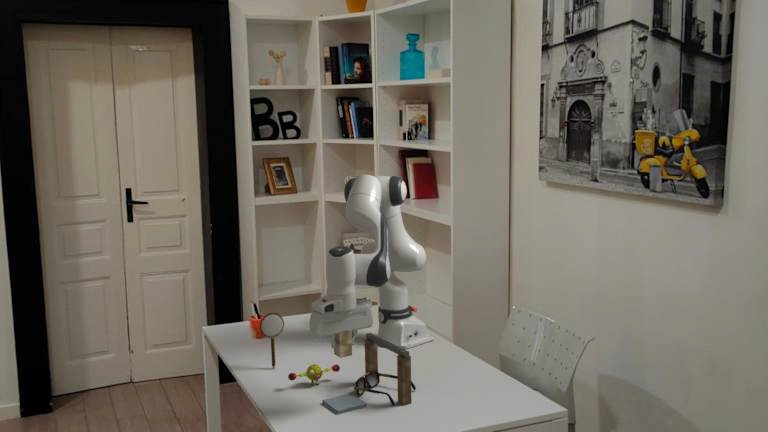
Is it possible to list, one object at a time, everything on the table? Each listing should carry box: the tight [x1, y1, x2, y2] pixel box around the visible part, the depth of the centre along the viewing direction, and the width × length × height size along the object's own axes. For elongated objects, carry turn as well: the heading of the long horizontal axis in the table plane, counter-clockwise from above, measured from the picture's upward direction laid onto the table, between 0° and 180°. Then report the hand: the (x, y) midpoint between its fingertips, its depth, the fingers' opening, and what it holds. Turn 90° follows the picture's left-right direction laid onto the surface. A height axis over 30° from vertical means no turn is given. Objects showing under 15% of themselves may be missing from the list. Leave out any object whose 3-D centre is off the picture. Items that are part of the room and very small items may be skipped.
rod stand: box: [364, 338, 412, 406], centre depth 238 cm, size 3×22×15 cm, turn 32°
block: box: [333, 329, 353, 359], centre depth 227 cm, size 4×4×8 cm
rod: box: [365, 332, 410, 358], centre depth 236 cm, size 2×23×2 cm, turn 32°
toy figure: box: [287, 364, 340, 387], centre depth 246 cm, size 18×6×7 cm, turn 117°
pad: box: [322, 392, 368, 415], centre depth 230 cm, size 10×10×1 cm
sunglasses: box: [353, 370, 417, 407], centre depth 237 cm, size 14×15×5 cm
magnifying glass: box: [259, 312, 285, 369], centre depth 261 cm, size 9×2×20 cm, turn 116°
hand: (342, 346), depth 227 cm, fingers closed on block, 4 cm apart
